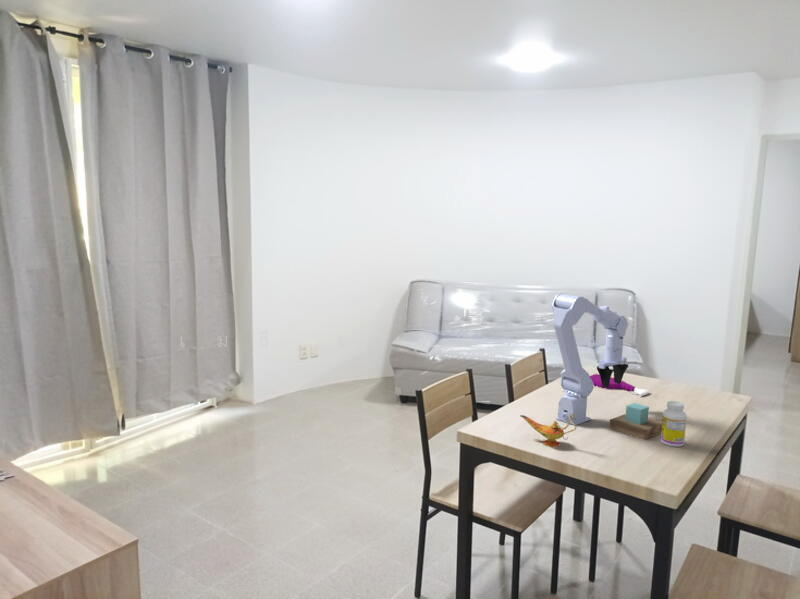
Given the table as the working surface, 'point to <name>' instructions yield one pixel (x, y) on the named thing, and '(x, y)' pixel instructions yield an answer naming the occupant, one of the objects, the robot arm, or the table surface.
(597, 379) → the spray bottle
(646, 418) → the teal cube
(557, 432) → the magic lamp
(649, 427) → the walnut base
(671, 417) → the supplement bottle
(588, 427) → the table surface
